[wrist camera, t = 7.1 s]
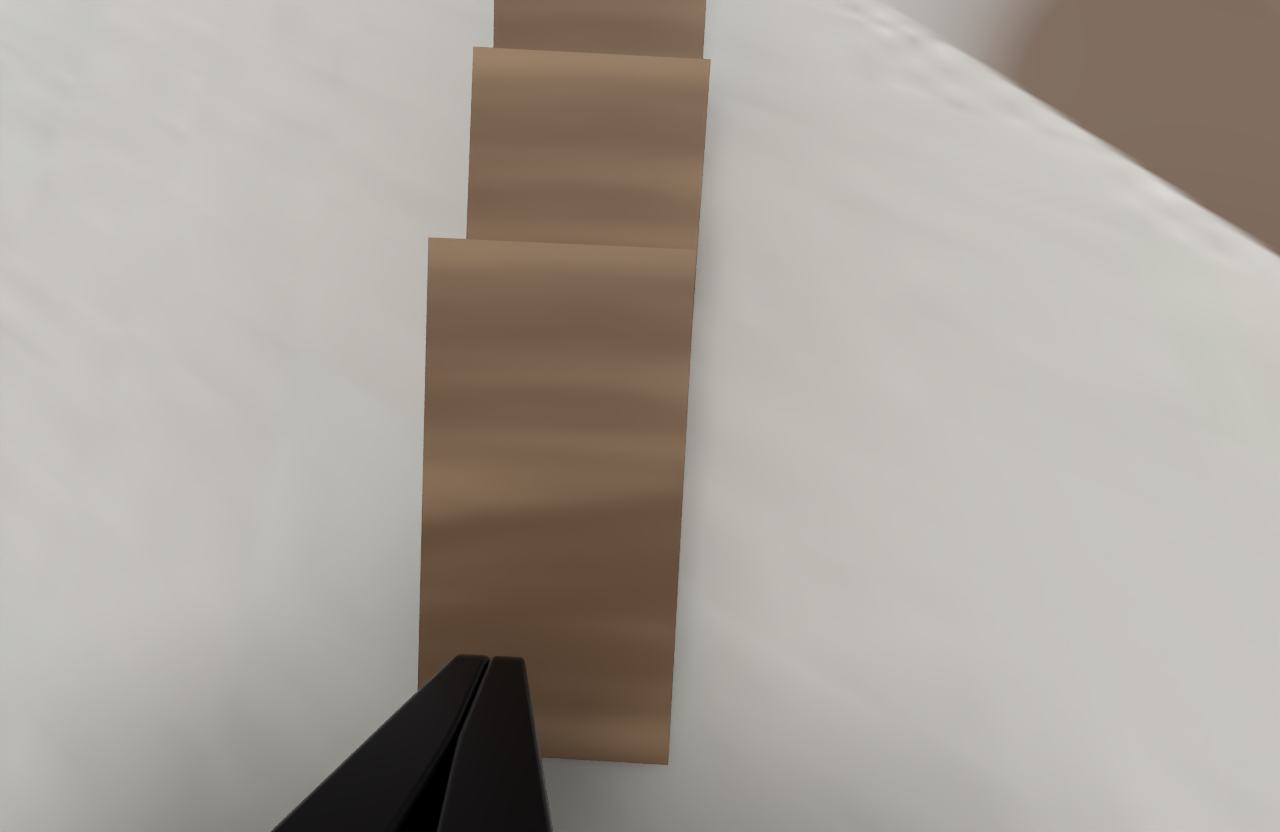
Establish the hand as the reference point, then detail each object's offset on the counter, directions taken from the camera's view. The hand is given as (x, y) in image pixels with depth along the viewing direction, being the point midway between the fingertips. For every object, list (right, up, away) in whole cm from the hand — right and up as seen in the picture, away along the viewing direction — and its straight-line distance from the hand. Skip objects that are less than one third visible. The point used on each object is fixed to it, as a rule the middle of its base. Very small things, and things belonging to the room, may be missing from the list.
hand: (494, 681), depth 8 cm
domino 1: (0, -3, +6) cm, 7 cm away
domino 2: (0, +1, +8) cm, 8 cm away
